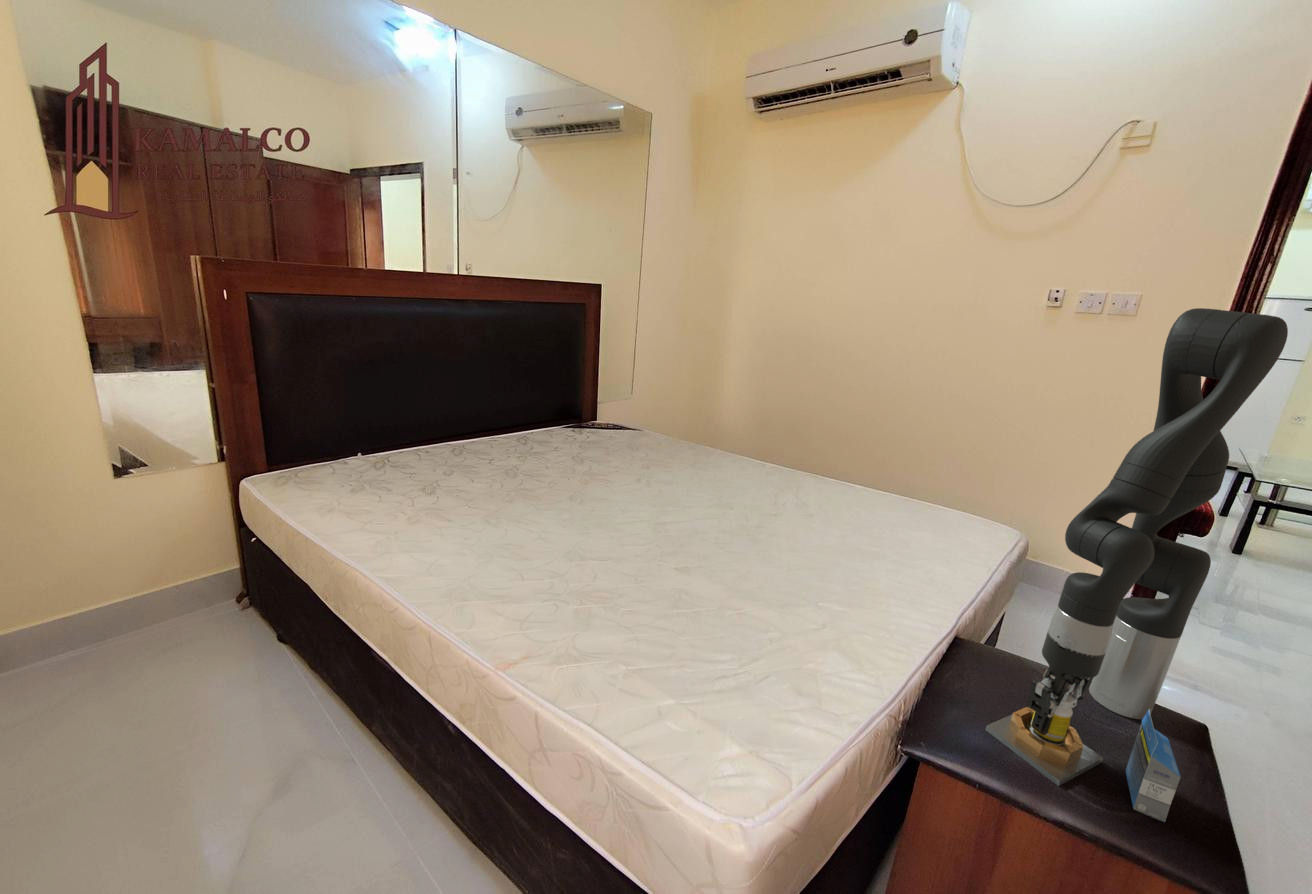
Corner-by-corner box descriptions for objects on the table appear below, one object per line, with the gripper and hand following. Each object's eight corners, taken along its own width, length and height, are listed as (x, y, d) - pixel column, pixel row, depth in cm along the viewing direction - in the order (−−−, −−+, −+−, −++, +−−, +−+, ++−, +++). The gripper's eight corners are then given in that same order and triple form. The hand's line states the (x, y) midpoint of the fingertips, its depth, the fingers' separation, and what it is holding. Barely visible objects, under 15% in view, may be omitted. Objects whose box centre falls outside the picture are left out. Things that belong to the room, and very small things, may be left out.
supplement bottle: (1068, 749, 89) (1083, 707, 87) (1036, 743, 90) (1050, 701, 88) (1054, 728, 94) (1067, 686, 91) (1024, 722, 95) (1036, 681, 92)
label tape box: (1165, 824, 80) (1194, 756, 76) (1129, 808, 82) (1155, 742, 78) (1154, 782, 87) (1180, 718, 83) (1121, 769, 89) (1145, 706, 85)
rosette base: (1027, 711, 100) (1032, 695, 99) (1101, 762, 90) (1107, 745, 89) (985, 729, 95) (990, 713, 94) (1058, 786, 85) (1064, 768, 84)
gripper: (1077, 616, 93) (1050, 699, 98) (1025, 634, 87) (999, 722, 92) (1129, 642, 86) (1097, 730, 91) (1076, 663, 80) (1045, 756, 85)
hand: (1048, 725), depth 91 cm, fingers closed on supplement bottle, 4 cm apart
